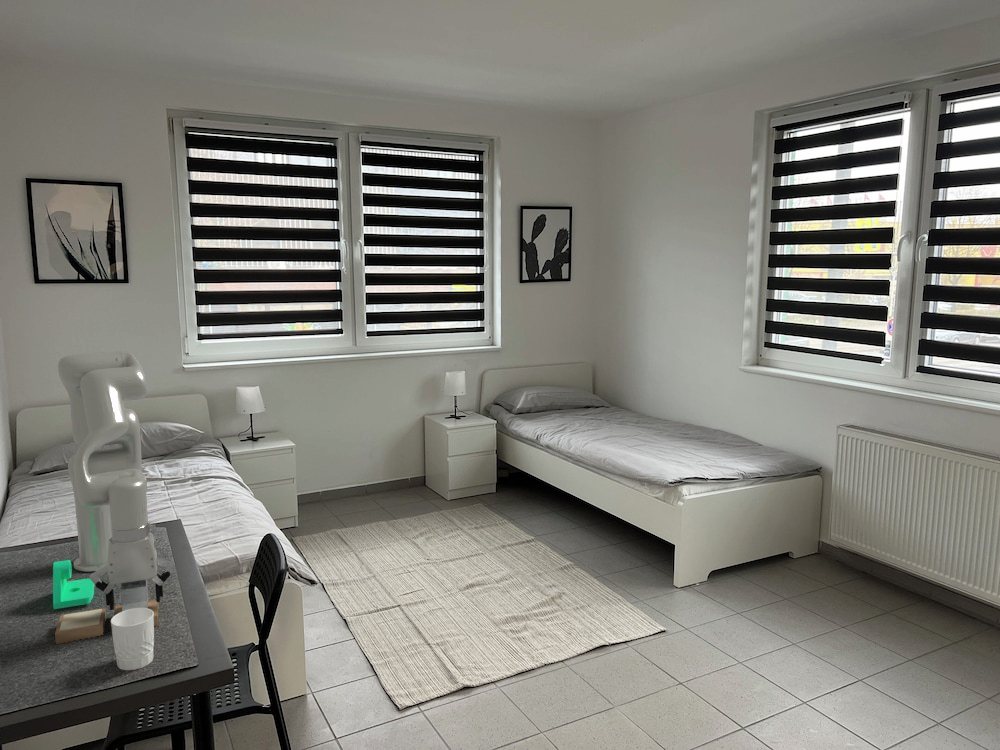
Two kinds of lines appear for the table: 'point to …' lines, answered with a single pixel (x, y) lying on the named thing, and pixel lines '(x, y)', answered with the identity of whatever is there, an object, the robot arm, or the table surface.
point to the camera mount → (69, 587)
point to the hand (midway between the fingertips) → (135, 603)
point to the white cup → (133, 638)
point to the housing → (134, 595)
